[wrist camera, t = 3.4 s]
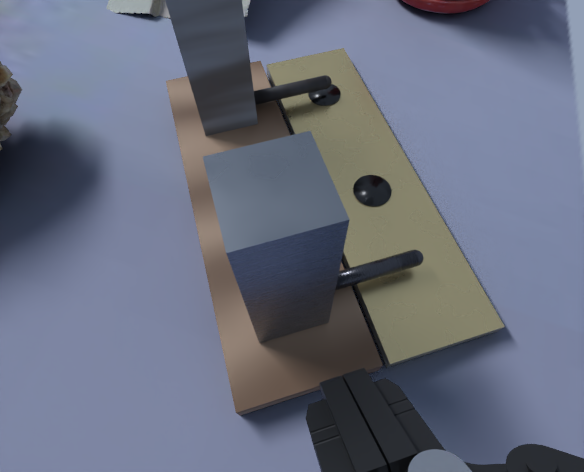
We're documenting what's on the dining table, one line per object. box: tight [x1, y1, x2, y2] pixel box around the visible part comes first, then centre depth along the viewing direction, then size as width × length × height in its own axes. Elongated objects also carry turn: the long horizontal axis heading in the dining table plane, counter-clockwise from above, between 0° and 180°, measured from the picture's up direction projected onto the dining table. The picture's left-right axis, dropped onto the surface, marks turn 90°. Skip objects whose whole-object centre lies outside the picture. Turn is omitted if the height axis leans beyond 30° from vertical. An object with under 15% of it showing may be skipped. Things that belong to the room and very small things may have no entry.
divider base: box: [165, 0, 383, 415], centre depth 23 cm, size 26×12×12 cm, turn 17°
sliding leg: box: [203, 131, 424, 344], centre depth 18 cm, size 4×10×11 cm, turn 107°
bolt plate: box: [267, 48, 505, 368], centre depth 28 cm, size 26×7×1 cm, turn 17°
